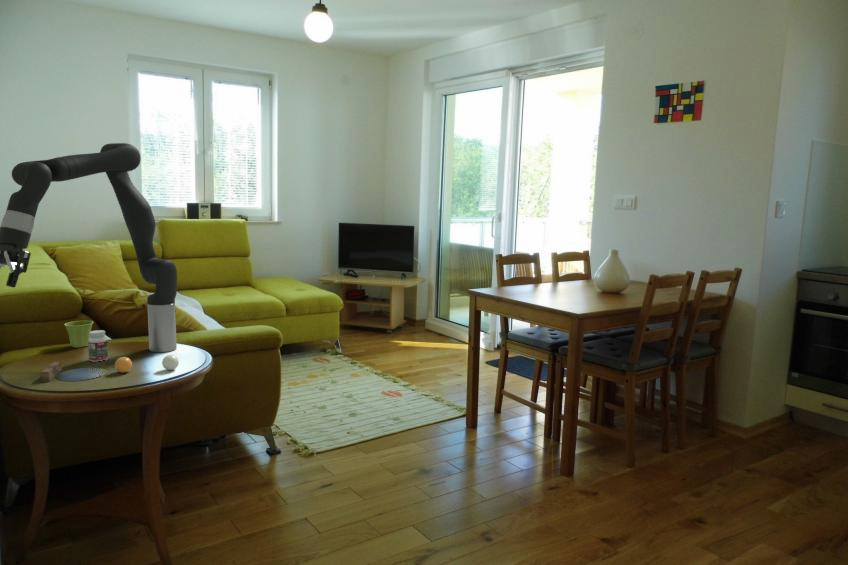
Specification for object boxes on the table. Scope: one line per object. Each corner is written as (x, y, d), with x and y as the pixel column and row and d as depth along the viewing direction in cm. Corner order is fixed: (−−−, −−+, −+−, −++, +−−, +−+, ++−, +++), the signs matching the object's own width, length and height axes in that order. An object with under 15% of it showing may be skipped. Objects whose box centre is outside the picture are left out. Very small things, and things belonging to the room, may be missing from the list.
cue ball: (163, 368, 203) (163, 353, 202) (179, 367, 204) (179, 352, 203) (161, 372, 198) (160, 357, 197) (178, 371, 199) (177, 356, 199)
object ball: (117, 370, 199) (116, 355, 198) (133, 369, 200) (133, 354, 200) (113, 375, 194) (112, 359, 194) (130, 374, 196) (130, 358, 195)
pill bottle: (100, 362, 207) (98, 334, 206) (85, 361, 208) (83, 333, 207) (111, 358, 213) (110, 330, 212) (97, 357, 214) (95, 329, 213)
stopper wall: (54, 370, 197) (53, 361, 197) (61, 370, 198) (60, 361, 198) (42, 381, 186) (41, 372, 186) (49, 381, 187) (48, 371, 186)
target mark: (64, 369, 199) (63, 368, 199) (111, 367, 203) (111, 366, 203) (50, 382, 186) (50, 381, 186) (101, 379, 189) (101, 379, 189)
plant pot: (61, 349, 223) (60, 326, 222) (71, 343, 232) (69, 320, 231) (90, 348, 225) (88, 325, 224) (98, 342, 234) (96, 320, 233)
